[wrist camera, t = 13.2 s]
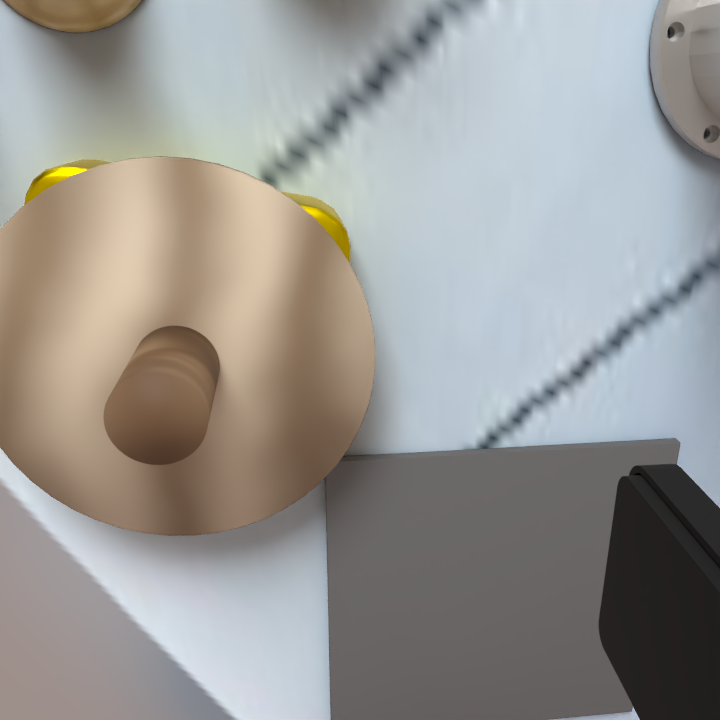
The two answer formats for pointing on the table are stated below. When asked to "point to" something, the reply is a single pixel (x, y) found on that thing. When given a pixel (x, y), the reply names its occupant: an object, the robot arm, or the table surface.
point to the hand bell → (74, 13)
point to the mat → (474, 581)
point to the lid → (177, 346)
